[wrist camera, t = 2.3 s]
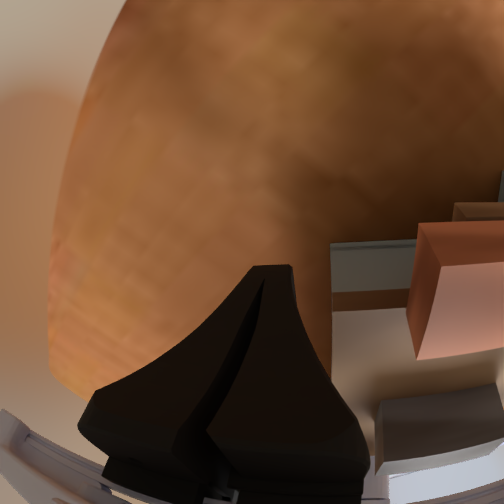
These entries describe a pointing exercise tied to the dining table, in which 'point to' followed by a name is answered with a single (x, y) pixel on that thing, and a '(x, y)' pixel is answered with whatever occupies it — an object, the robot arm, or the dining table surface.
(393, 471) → the lid
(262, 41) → the dining table surface
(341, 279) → the blue grey tray
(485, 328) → the salmon pink block
